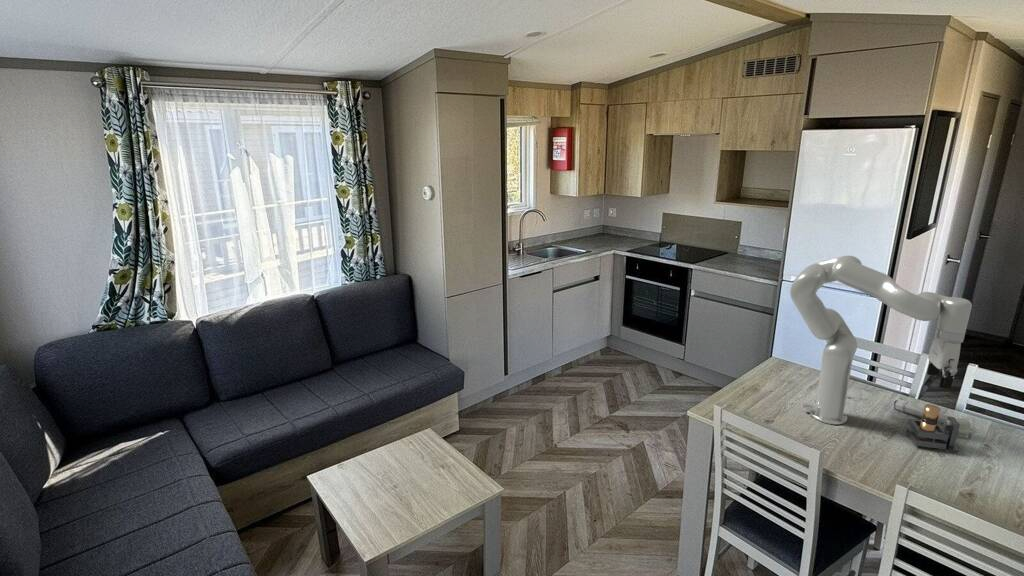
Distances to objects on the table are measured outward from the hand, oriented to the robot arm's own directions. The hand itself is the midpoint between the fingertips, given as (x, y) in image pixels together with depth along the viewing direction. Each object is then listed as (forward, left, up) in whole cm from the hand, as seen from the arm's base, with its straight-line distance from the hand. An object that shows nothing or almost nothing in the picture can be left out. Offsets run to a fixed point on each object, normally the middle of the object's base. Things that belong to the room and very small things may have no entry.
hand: (938, 381), depth 183 cm
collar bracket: (+2, 0, -24) cm, 24 cm away
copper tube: (0, 0, -24) cm, 24 cm away
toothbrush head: (+8, +16, -25) cm, 30 cm away
